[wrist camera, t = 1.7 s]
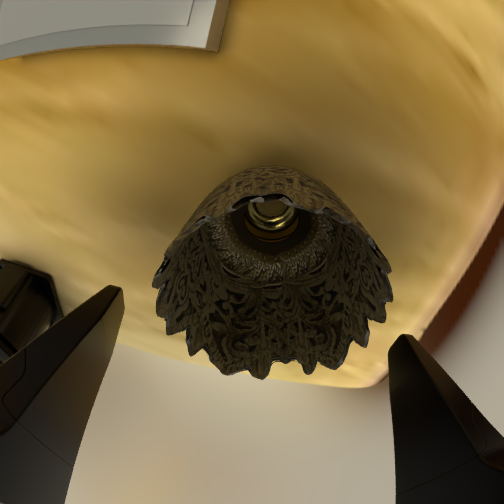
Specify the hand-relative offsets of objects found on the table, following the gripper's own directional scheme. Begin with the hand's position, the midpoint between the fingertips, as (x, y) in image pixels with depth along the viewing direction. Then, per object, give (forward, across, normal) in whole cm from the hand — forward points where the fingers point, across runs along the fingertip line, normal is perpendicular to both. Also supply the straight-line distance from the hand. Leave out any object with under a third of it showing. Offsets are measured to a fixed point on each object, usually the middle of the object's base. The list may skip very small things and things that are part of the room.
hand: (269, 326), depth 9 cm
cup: (+8, 0, 0) cm, 8 cm away
